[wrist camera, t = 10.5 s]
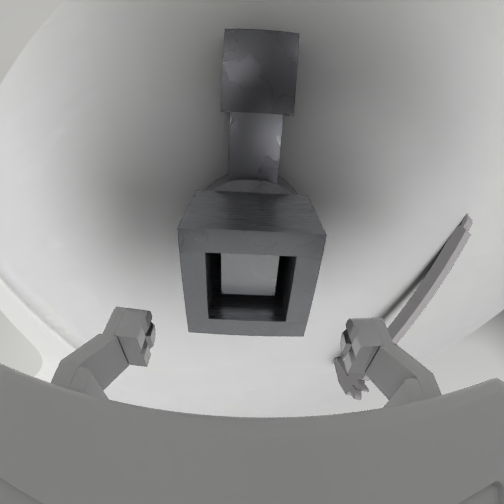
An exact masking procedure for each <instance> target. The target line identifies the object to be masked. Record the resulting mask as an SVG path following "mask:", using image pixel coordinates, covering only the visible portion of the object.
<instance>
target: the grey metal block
mask: <svg viewBox="0 0 504 504" xmlns="http://www.w3.org/2000/svg"><path fill="white" fill-rule="evenodd" d="M178 240H179V252H180V263H181V273H182V282H183V291H184V300H185V308H186V316H187V323H188V331H189V332H194V333H209V334H226V335H248V336H304V332H305V329H306V325H307V321H308V317H309V313H310V309H311V304H312V300H313V296H314V292H315V287H316V283H317V278H318V274H319V269H320V265H321V260H322V255H323V250H324V245H325V240H326V233H325V230H324V228H323V226H322V224H321V222H320V220H319V218H318V216H317V214H316V212H315V210H314V208H313V206H312V204H311V202H310V200H309V198H308V196H303V195H289V194H274V193H256V192H233V191H201V190H197V191H196V193H195V195H194V196H193V198H192V200H191V202H190V204H189V206H188V208H187V210H186V212H185V214H184V216H183V218H182V220H181V222H180V224H179V226H178ZM217 253H228V254H251V255H274V256H280V264H279V270H278V272H277V280H276V287H275V295H274V296H271V295H244V294H223V293H222V291H221V267H217Z"/></svg>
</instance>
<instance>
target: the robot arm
mask: <svg viewBox="0 0 504 504" xmlns="http://www.w3.org/2000/svg"><path fill="white" fill-rule="evenodd" d="M151 319H152V315H151V312H150V311H147V310H139V309H132V308H123V307H116V308H115V309H114V311H113V313H112V315H111V317H110V319H109V321H108V323H107V325H106V327H105V330H104V332H103V334H98V335H97V336H95V337H94V338H93V339H91V340H90V341H88V342H87V343H85V344H84V345H82V346H81V347H80V348H78V349H77V350H75V351H74V352H72V353H71V354H70V355H68V356H67V357H65V358H64V359H63V360H61V361H60V363H59V366H58V368H57V370H56V372H55V374H54V376H53V379H52V381H51V383H49V382H46V381H43V380H40V379H38V378H35V377H32V376H30V375H27V374H24V373H22V372H19V371H17V370H15V369H12V368H9V367H7V366H5V365H3V364H1V363H0V504H504V382H503V381H501V380H500V379H497V378H494V379H490V380H488V381H485V382H482V383H479V384H476V385H473V386H470V387H467V388H464V389H461V390H458V391H455V392H451V393H448V394H444V395H442V394H441V392H440V389H439V387H438V384H437V382H436V380H435V377H434V375H433V373H432V372H430V371H429V370H428V369H427V368H425V367H424V366H423V365H422V364H420V363H419V362H418V361H417V360H415V359H414V358H413V357H412V356H410V355H409V354H408V353H407V352H405V351H404V350H403V349H402V348H400V347H399V346H398V345H394V344H393V341H392V339H391V337H390V334H389V332H388V330H387V327H386V325H385V323H384V321H383V319H382V318H381V317H380V318H355V319H349V320H348V321H347V323H346V328H347V329H346V330H345V331H344V332H343V333H342V336H341V342H340V346H341V352H342V354H343V355H345V356H346V358H345V360H344V363H345V367H346V371H347V374H349V373H365V374H366V375H367V376H368V377H369V379H370V380H371V381H372V382H373V383H374V384H375V385H376V386H377V387H378V389H379V390H380V391H382V393H383V394H384V395H385V396H386V397H387V398H388V400H389V401H388V402H387V404H386V405H385V406H384V407H383V408H380V409H374V410H367V411H360V412H352V413H343V414H334V415H322V416H309V417H308V416H306V417H277V418H257V417H227V416H212V415H200V414H190V413H182V412H174V411H166V410H160V409H153V408H147V407H142V406H136V405H131V404H126V403H121V402H117V401H112V400H109V399H108V397H107V396H106V394H105V393H104V391H103V390H104V389H105V388H106V387H107V386H108V385H109V384H110V383H111V382H112V381H113V380H114V379H116V378H117V377H118V376H119V375H120V374H121V373H122V372H123V371H124V370H125V369H126V368H127V367H128V366H129V364H130V365H137V366H146V367H147V366H148V363H149V359H150V356H151V353H150V350H149V349H150V348H152V347H153V345H154V342H155V327H154V324H153V323H152V322H151Z"/></svg>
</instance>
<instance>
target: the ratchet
mask: <svg viewBox="0 0 504 504" xmlns="http://www.w3.org/2000/svg"><path fill="white" fill-rule="evenodd" d="M298 48H299V33H291V32H282V31H270V30H255V29H225V35H224V51H223V69H222V89H221V112H230V134H229V163H228V174H227V175H225V176H222V177H221V178H219V179H217V180H216V181H215V182H213V183H212V184H211V185H210V186H209V187H208V188H207V189H206V190H205V191H233V192H256V193H274V194H289V195H297V193H296V192H295V191H294V189H293V188H292V187H291V186H290V185H289V184H288V183H286V182H285V181H284V180H282V179H280V178H279V177H278V171H279V160H280V148H281V136H282V124H283V115H288V116H293V115H294V103H295V90H296V77H297V63H298ZM279 264H280V256H274V255H251V254H228V253H217V267H221V291H222V293H223V294H244V295H271V296H274V295H275V287H276V280H277V272H278V270H279Z"/></svg>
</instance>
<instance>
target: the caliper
mask: <svg viewBox="0 0 504 504" xmlns="http://www.w3.org/2000/svg"><path fill="white" fill-rule="evenodd" d="M471 225H472V219H471V218H470V217H469V216H468V214H467V215H466V216H465V217H464V219H463V221H462V223H461V225H460V226H459V225H458V227H457V228H456V229H455V231H454V232H453V233H452V235H451V236H450V237H449V239H448V240H447V242H446V244H445V246H444V247H443V249H442V251H441V252H440V254H439V256H438V257H437V259H436V260H435V262H434V264H433V265H432V267H431V268H430V270H429V272H428V273H427V275H426V276H425V278H424V279H423V281H422V282H421V284H420V285H419V287H418V288H417V290H416V291H415V292H414V294H413V295H412V297H411V298H410V299H409V301H408V302H407V304H406V305H405V306H404V308H403V309H402V310H401V312H400V313H399V314H398V316H397V317H396V318H395V320H394V321H393V322H392V323H391V325H390V326H389V327H388V328H387V330H388V332H389V334H390V337H391V339H392V341H393V344H394V345H397V343H398V342H399V341H400V339H401V338H402V337H403V336H404V334H405V333H406V332H407V331H408V329H409V328H410V327H411V326H412V324H413V323H414V322H415V320H416V319H417V318H418V316H419V315H420V314H421V312H422V311H423V310H424V308H425V307H426V306H427V304H428V303H429V301H430V300H431V299H432V297H433V296H434V294H435V293H436V291H437V290H438V288H439V287H440V285H441V284H442V282H443V281H444V279H445V278H446V276H447V275H448V273H449V271H450V270H451V268H452V267H453V265H454V263H455V262H456V260H457V258H458V257H459V255H460V253H461V252H462V250H463V248H464V246H465V244H466V243H467V241H468V239H469V237H470V233H469V232H468V231H469V229H470V227H471ZM334 364H335V369H336V373H337V377H338V381H339V383H340V385H341V387H342V389H343V390H344V392H345V394H346V395H351V396H353V398H354V399H357V400H361V396H362V395H361V391H366V392H369V390H368V388H367V386H366V385H365V384H364V383H365V381H364V380H367V381H369V380H370V379H369V377H368V376H367V375H366V374H365V373H349V374H347V371H346V367H345V363H344V361H343V359H340V358H336V359H335V361H334Z"/></svg>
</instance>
